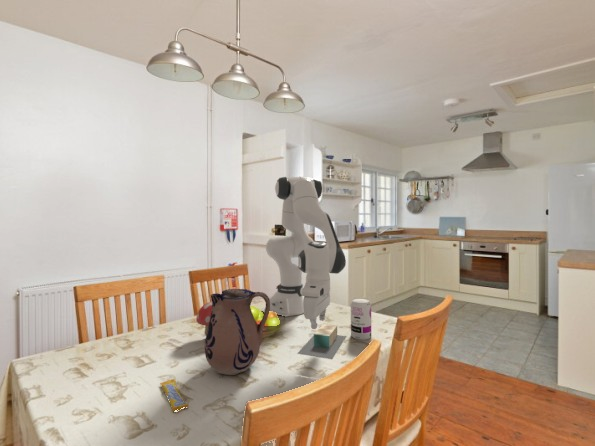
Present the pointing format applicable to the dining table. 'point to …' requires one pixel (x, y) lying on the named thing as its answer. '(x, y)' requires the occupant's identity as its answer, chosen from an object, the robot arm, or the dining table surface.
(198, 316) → the decorative mushroom
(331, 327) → the block
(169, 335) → the dining table surface
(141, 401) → the dining table surface
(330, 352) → the mat
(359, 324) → the supplement can
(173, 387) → the candy bar
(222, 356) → the ceramic pitcher
